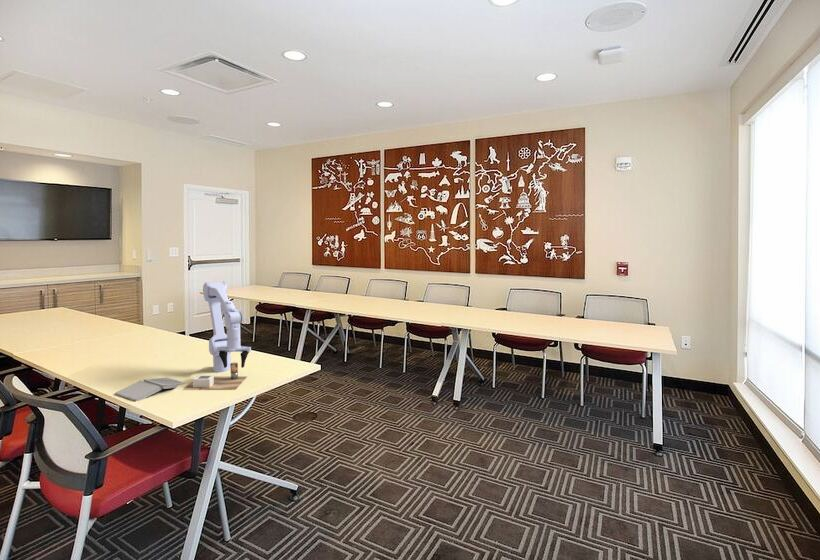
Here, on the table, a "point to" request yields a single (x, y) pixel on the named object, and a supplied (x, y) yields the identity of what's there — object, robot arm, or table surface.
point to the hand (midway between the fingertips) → (234, 367)
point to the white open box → (203, 381)
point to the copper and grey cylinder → (234, 370)
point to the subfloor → (220, 383)
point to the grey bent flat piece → (147, 388)
